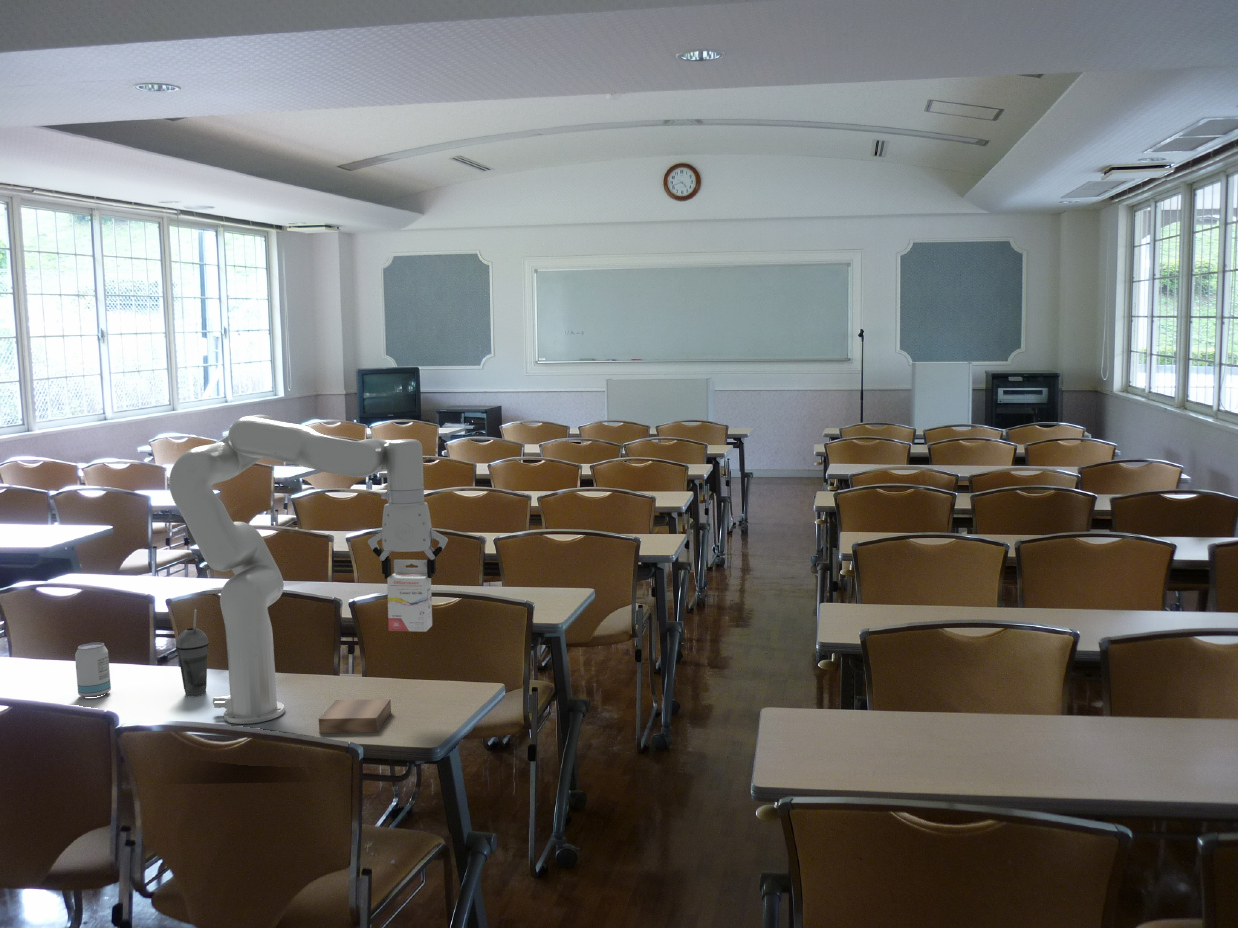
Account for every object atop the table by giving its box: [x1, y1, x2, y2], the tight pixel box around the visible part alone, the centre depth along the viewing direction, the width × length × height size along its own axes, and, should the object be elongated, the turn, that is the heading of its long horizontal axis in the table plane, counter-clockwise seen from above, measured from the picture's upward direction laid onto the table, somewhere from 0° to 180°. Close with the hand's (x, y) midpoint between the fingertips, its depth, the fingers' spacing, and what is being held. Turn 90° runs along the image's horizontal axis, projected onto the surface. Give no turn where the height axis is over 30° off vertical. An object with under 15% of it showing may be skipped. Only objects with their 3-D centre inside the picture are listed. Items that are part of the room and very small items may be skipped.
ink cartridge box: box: [386, 559, 433, 632], centre depth 227 cm, size 9×5×15 cm, turn 84°
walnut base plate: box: [318, 698, 392, 734], centre depth 224 cm, size 12×12×3 cm
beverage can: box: [74, 642, 112, 698], centre depth 247 cm, size 7×7×12 cm
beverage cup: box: [175, 608, 210, 697], centre depth 246 cm, size 7×7×20 cm
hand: (409, 577), depth 226 cm, fingers closed on ink cartridge box, 8 cm apart
